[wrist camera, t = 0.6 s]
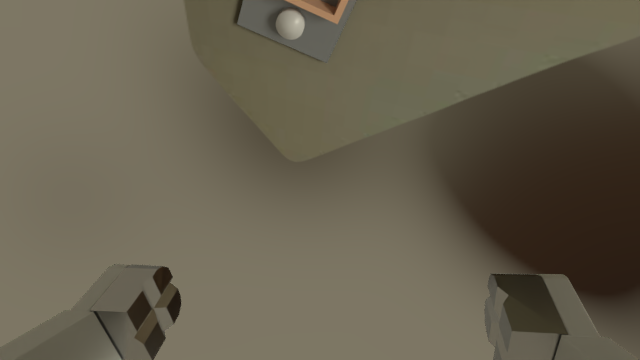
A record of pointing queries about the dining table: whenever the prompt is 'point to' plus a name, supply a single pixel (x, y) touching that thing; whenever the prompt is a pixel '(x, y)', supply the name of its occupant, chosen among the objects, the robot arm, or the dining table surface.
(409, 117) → the dining table surface
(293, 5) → the housing
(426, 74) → the dining table surface
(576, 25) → the dining table surface
